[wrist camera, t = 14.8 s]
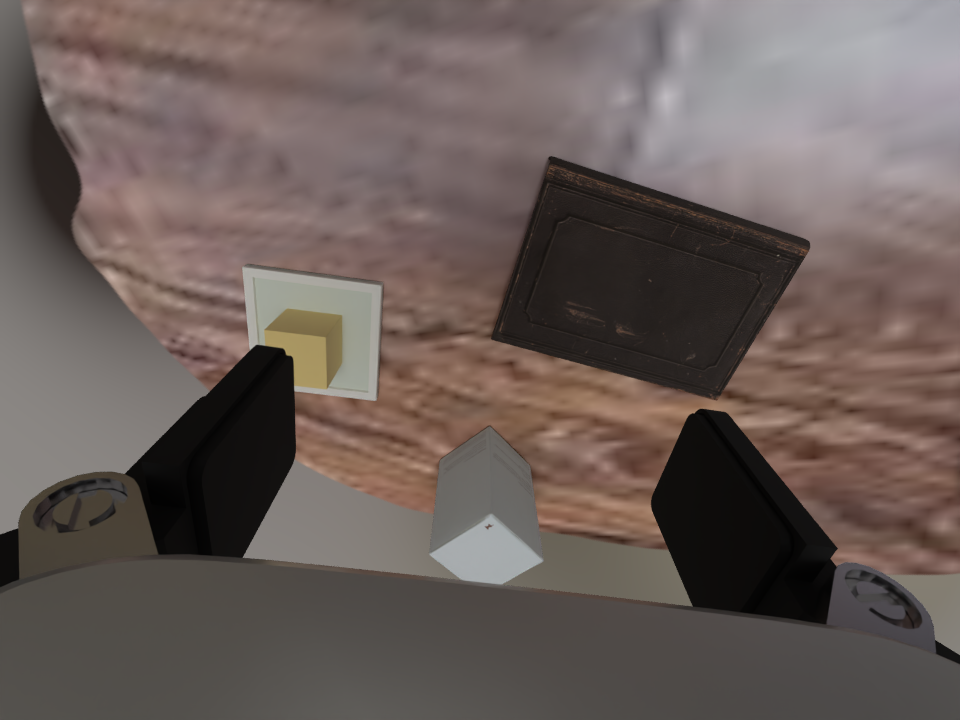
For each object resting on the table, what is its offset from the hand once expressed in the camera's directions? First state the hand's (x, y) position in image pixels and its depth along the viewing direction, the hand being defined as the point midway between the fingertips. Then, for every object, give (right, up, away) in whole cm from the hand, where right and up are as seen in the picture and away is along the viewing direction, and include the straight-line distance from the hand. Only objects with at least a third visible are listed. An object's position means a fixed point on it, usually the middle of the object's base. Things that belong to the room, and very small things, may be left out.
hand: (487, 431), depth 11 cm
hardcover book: (+14, +9, +32) cm, 36 cm away
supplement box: (0, -9, +40) cm, 42 cm away
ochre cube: (-16, +4, +33) cm, 37 cm away
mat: (-16, +4, +33) cm, 37 cm away
